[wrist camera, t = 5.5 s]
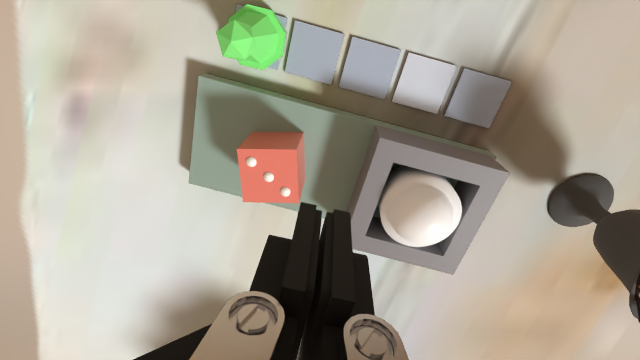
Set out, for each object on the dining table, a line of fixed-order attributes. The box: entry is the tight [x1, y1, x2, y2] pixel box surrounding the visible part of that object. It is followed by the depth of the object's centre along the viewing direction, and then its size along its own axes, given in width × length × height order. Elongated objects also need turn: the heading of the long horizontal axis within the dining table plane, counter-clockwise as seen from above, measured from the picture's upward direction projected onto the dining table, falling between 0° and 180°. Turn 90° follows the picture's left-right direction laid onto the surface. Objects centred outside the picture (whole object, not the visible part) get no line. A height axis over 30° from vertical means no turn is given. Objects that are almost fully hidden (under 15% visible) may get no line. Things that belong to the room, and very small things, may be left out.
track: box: [236, 4, 512, 128], centre depth 24 cm, size 4×20×1 cm, turn 76°
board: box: [189, 73, 510, 274], centre depth 26 cm, size 9×23×5 cm, turn 76°
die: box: [237, 132, 305, 203], centre depth 24 cm, size 4×4×4 cm
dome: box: [378, 165, 462, 247], centre depth 24 cm, size 6×6×5 cm
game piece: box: [216, 4, 286, 70], centre depth 21 cm, size 4×4×6 cm
